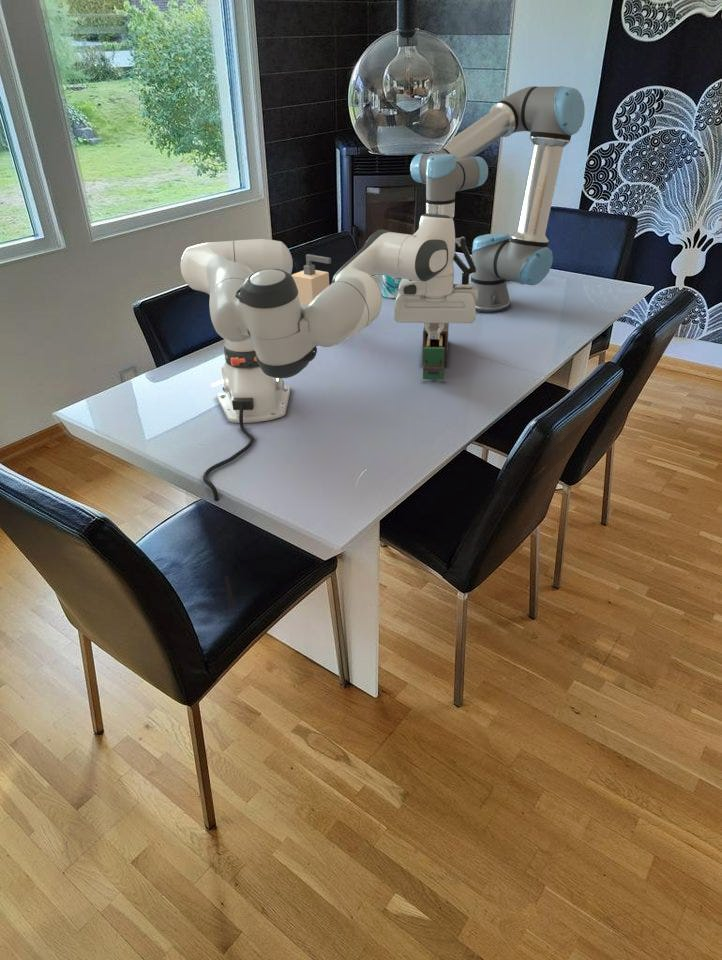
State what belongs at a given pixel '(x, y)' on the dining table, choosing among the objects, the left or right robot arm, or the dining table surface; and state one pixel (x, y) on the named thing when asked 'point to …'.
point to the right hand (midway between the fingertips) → (438, 297)
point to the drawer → (433, 359)
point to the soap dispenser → (311, 279)
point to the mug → (391, 286)
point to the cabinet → (445, 333)
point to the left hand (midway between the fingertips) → (433, 338)
